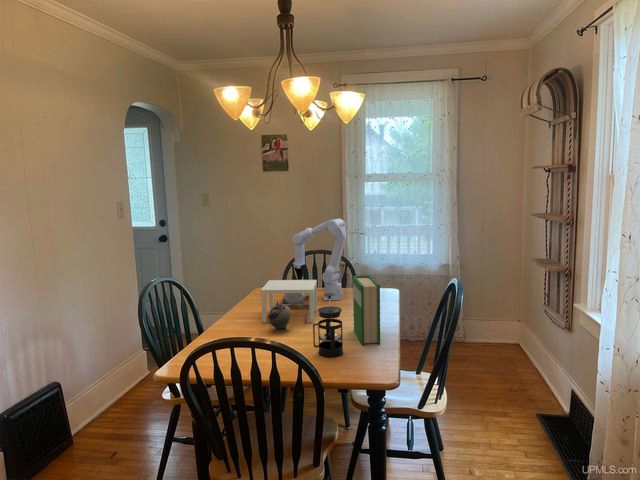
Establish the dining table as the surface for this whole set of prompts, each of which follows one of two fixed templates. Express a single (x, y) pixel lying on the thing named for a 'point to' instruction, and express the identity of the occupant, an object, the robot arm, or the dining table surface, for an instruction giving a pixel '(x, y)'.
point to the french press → (329, 331)
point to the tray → (297, 306)
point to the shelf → (289, 287)
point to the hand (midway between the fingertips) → (300, 278)
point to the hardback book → (366, 309)
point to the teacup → (294, 298)
